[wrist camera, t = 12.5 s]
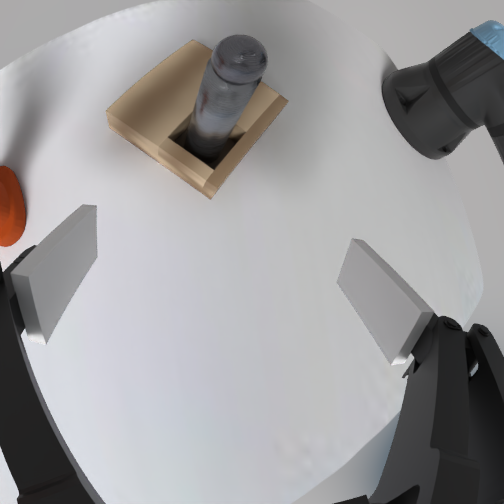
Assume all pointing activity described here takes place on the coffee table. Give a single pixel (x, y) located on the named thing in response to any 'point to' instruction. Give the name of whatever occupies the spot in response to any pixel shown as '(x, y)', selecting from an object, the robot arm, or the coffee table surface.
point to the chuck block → (187, 118)
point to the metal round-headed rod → (224, 94)
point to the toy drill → (10, 208)
